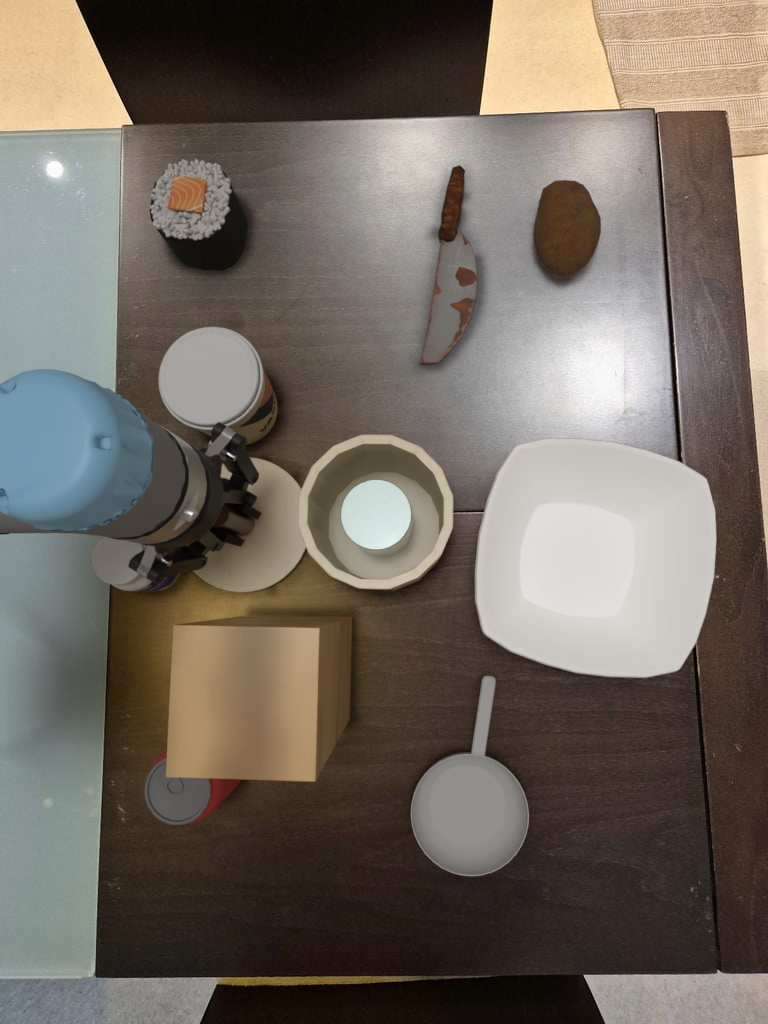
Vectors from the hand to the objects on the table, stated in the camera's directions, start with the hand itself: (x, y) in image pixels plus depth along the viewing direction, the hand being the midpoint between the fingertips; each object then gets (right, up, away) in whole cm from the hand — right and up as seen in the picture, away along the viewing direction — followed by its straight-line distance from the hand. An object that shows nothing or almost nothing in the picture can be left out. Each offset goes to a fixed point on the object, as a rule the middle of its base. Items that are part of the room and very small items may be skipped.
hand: (239, 522), depth 72 cm
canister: (+14, 0, +1) cm, 14 cm away
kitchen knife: (+22, +26, +5) cm, 34 cm away
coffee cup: (-1, +12, +4) cm, 12 cm away
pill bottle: (-9, -4, +3) cm, 10 cm away
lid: (0, 0, +2) cm, 2 cm away
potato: (+33, +29, +4) cm, 44 cm away
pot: (+14, 0, +2) cm, 14 cm away
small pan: (+23, -23, -1) cm, 33 cm away
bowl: (+33, -4, +1) cm, 33 cm away
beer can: (-2, -23, 0) cm, 23 cm away
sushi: (-4, +31, +6) cm, 32 cm away
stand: (+6, -14, +1) cm, 16 cm away
